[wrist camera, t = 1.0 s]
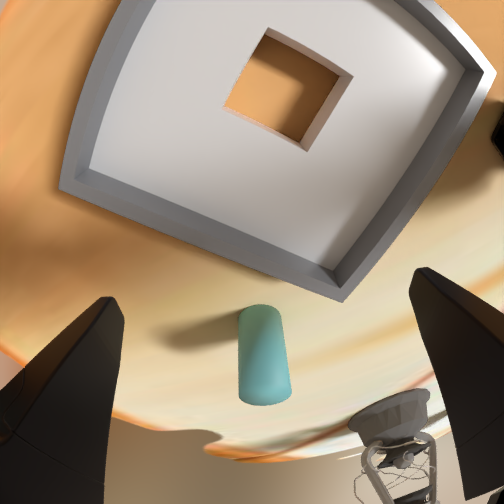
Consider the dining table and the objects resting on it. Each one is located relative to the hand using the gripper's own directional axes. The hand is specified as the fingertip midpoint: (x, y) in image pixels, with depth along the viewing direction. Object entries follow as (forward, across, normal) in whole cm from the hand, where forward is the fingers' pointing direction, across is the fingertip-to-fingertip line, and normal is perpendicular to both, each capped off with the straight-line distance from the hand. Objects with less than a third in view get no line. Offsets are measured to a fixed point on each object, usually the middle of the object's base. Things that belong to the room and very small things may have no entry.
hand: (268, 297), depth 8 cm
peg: (+13, 0, +15) cm, 19 cm away
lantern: (+13, -22, +48) cm, 54 cm away
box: (+13, -2, -5) cm, 14 cm away
